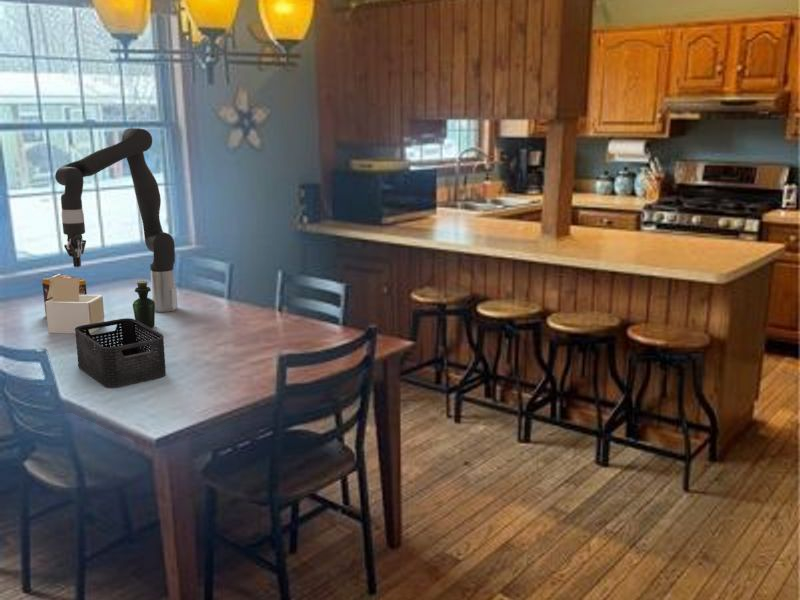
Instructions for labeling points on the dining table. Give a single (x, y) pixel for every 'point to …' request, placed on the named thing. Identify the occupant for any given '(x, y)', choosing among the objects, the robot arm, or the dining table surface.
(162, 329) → the dining table surface
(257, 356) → the dining table surface
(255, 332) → the dining table surface
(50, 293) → the short flap
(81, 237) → the robot arm
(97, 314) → the carton
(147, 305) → the potion bottle
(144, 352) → the storage bin
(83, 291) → the supplement box
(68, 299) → the long flap
